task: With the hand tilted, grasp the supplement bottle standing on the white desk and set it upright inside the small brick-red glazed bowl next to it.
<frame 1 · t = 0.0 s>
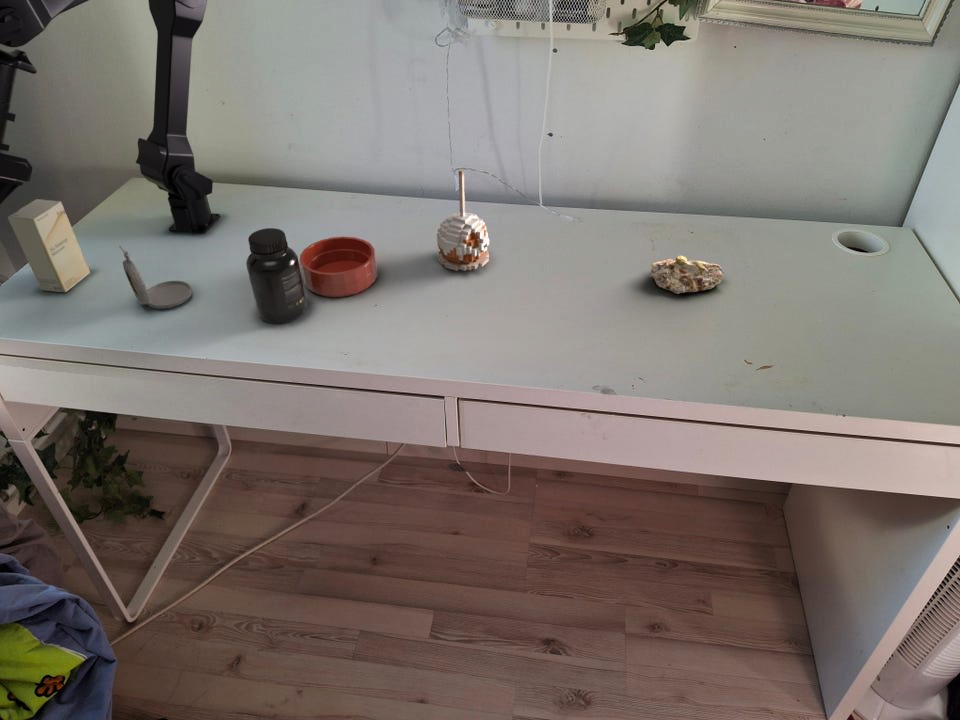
cosmetic box: (67, 282, 109), on the table
caramel apple: (463, 261, 113), on the table
pocket watch: (161, 301, 105), on the table
mineral rock: (685, 282, 107), on the table
bowl: (341, 278, 109), on the table
supplement bottle: (283, 311, 102), on the table
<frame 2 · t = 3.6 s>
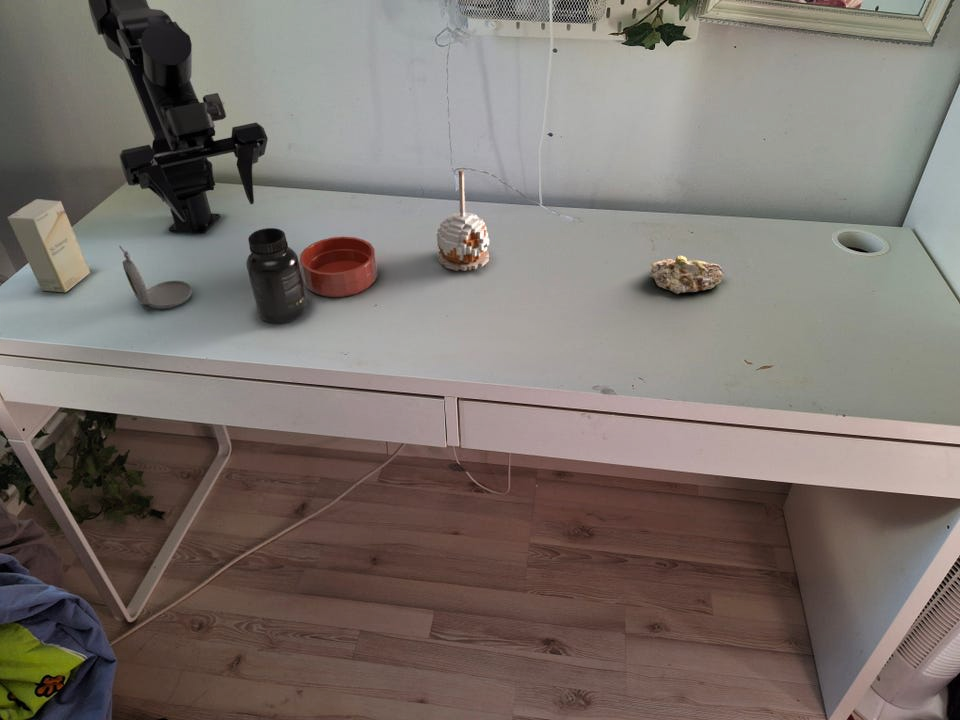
hand: (219, 211, 97), 14 cm above the table, tool tilted 45°, fingers open, 9 cm apart
nothing on the table moved.
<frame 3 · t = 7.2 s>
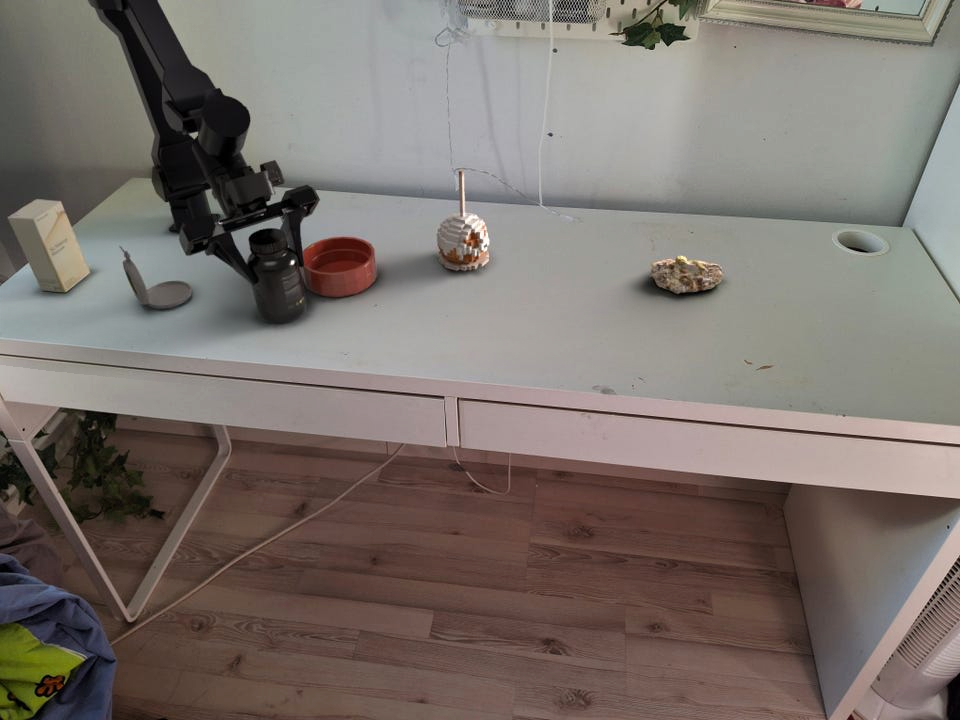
hand: (278, 275, 97), 7 cm above the table, tool tilted 45°, fingers closed on supplement bottle, 7 cm apart
supplement bottle: (283, 312, 102), on the table, touching gripper
everything else where it was.
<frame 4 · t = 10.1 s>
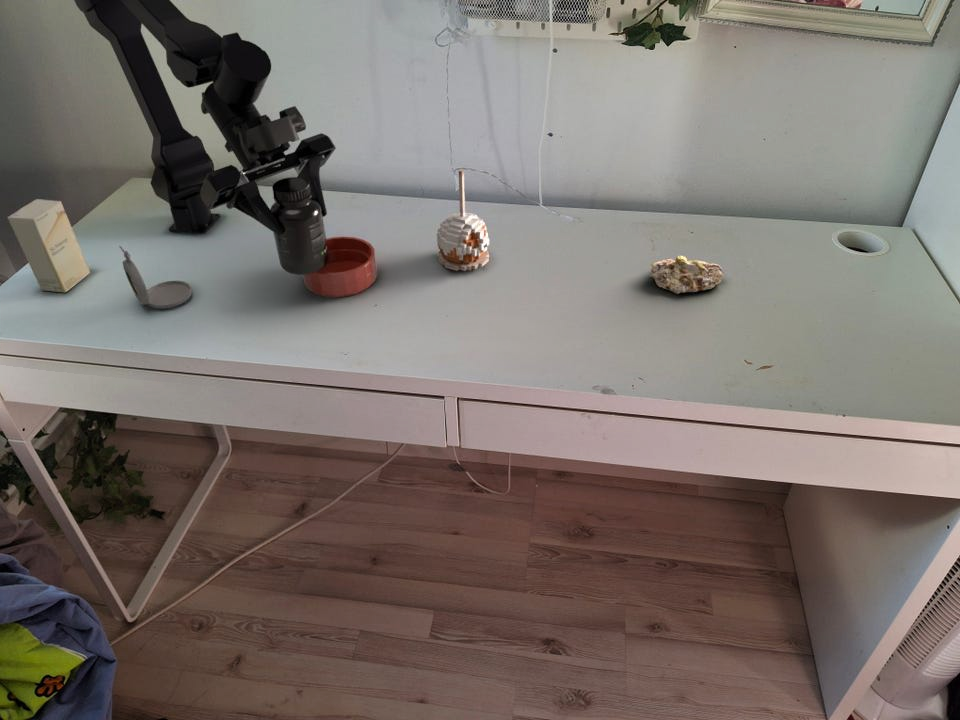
hand: (303, 224, 97), 12 cm above the table, tool tilted 45°, fingers closed on supplement bottle, 7 cm apart
supplement bottle: (305, 264, 102), point 5 cm above the table, touching gripper
everything else where it was.
when the fingers open (7 cm above the table, at t = 13.2 s): supplement bottle stays where it is, resting on bowl.
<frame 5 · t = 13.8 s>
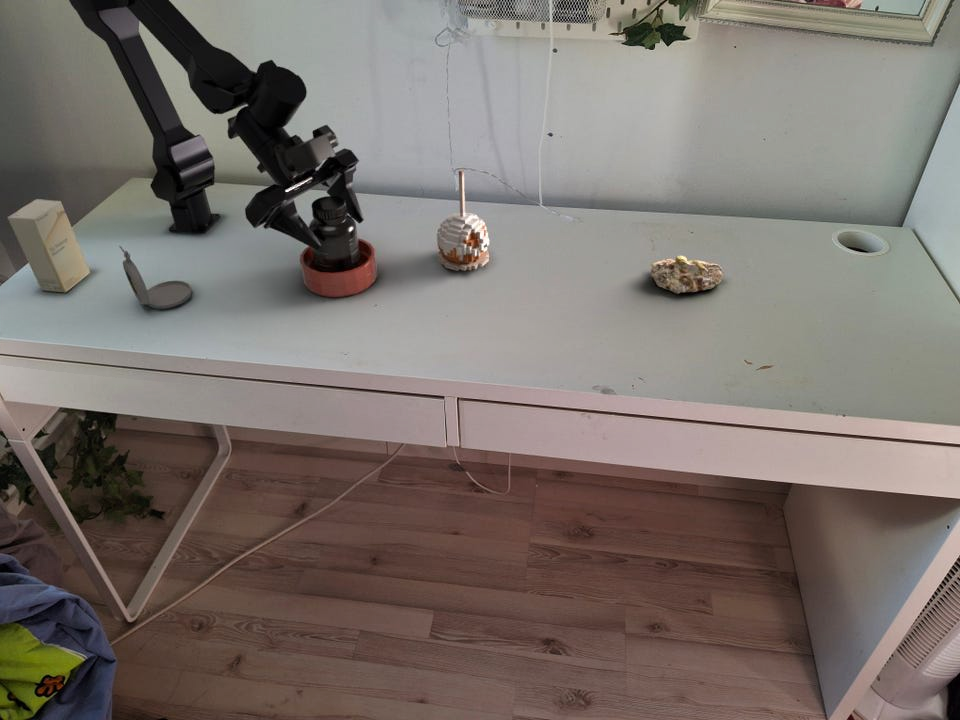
hand: (341, 234, 103), 8 cm above the table, tool tilted 45°, fingers open, 9 cm apart
supplement bottle: (340, 276, 109), resting on bowl
everything else where it was.
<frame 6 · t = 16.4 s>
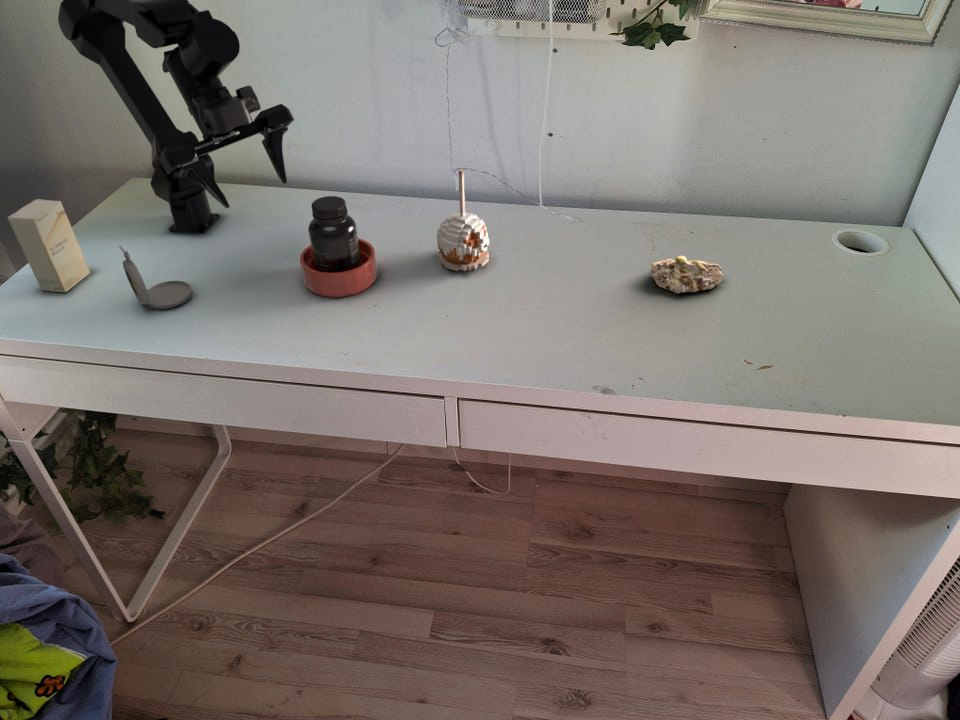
hand: (257, 195, 104), 12 cm above the table, tool tilted 30°, fingers open, 9 cm apart
nothing on the table moved.
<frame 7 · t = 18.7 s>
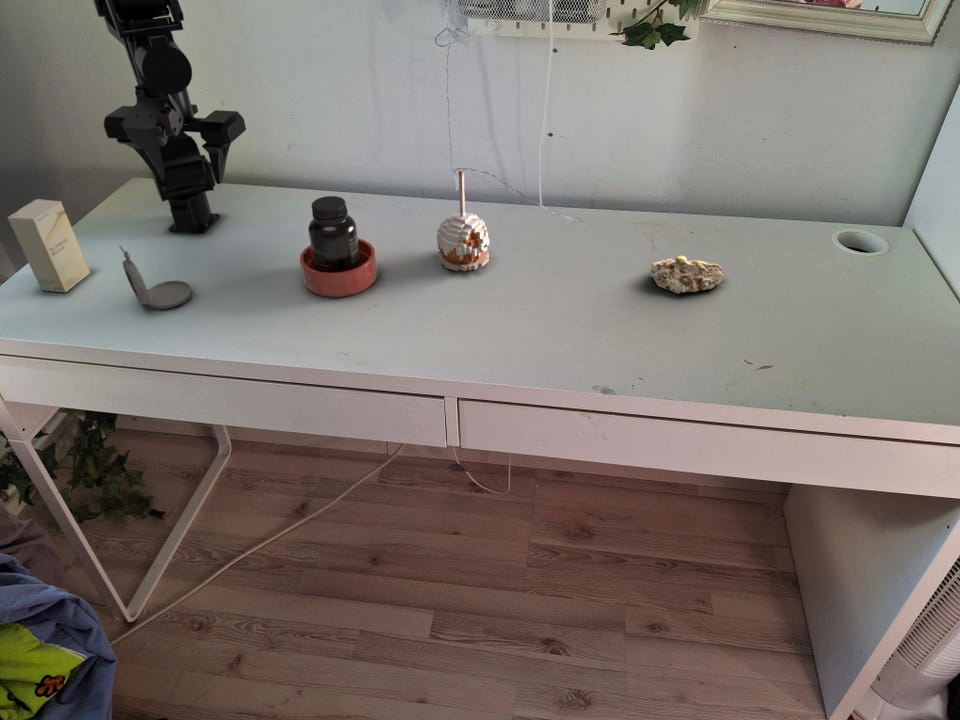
hand: (190, 181, 106), 13 cm above the table, tool pointing down, fingers open, 9 cm apart
nothing on the table moved.
at the end: supplement bottle 0.2 cm off-centre in the bowl, point 0.3 cm above the bowl's base; supplement bottle tilted 0°; the gripper is holding nothing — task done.
